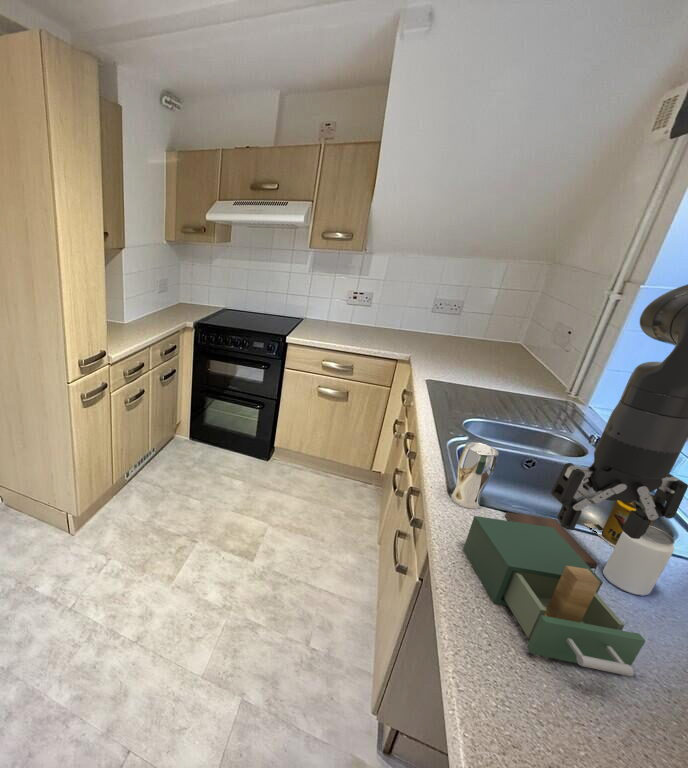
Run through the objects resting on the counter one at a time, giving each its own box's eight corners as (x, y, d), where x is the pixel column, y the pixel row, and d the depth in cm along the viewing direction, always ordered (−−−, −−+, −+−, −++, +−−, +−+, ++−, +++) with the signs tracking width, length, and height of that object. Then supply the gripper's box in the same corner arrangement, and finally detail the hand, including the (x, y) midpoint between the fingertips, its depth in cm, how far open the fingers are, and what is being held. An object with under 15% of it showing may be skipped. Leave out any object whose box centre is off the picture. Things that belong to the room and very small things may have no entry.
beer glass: (445, 500, 103) (461, 448, 98) (452, 489, 107) (468, 438, 102) (478, 514, 98) (496, 459, 93) (484, 501, 103) (502, 449, 98)
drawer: (648, 701, 58) (670, 668, 56) (545, 679, 61) (562, 646, 58) (572, 604, 73) (586, 574, 71) (492, 589, 76) (503, 560, 74)
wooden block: (533, 610, 71) (555, 559, 67) (564, 616, 70) (589, 564, 66) (550, 636, 66) (576, 583, 62) (584, 643, 65) (612, 589, 61)
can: (597, 565, 84) (621, 516, 79) (641, 578, 81) (668, 529, 76) (608, 587, 78) (634, 536, 74) (655, 602, 75) (685, 550, 71)
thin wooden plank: (553, 523, 96) (555, 519, 95) (595, 568, 83) (598, 563, 82) (504, 516, 98) (506, 511, 97) (538, 558, 85) (540, 554, 85)
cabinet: (583, 620, 72) (603, 581, 68) (493, 603, 74) (508, 565, 71) (538, 562, 84) (553, 527, 81) (462, 549, 87) (474, 515, 84)
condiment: (617, 550, 88) (641, 503, 84) (583, 524, 96) (603, 480, 91) (653, 552, 87) (679, 505, 83) (615, 525, 95) (637, 481, 91)
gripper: (603, 443, 55) (560, 540, 61) (732, 456, 53) (675, 556, 59) (565, 420, 62) (530, 508, 68) (678, 430, 60) (632, 521, 65)
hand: (597, 530), depth 63 cm, fingers open, 8 cm apart
